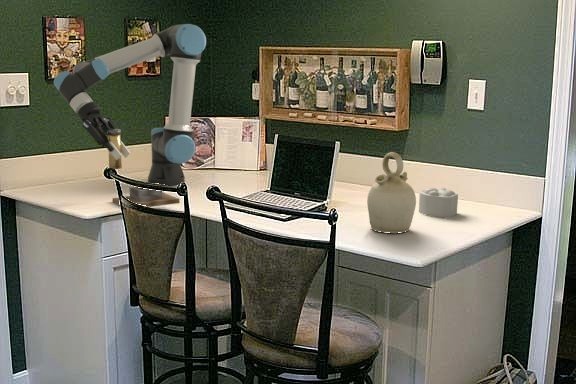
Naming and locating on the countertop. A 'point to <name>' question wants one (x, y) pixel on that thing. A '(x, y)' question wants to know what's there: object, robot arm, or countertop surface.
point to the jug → (391, 199)
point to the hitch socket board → (149, 197)
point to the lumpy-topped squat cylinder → (438, 202)
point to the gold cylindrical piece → (116, 140)
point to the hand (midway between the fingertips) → (123, 156)
